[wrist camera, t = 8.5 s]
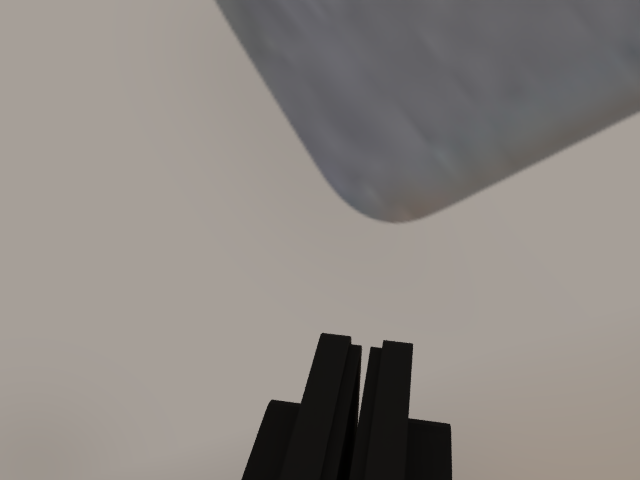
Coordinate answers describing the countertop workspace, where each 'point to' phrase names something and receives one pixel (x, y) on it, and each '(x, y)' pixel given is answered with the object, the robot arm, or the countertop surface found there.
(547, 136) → the countertop surface
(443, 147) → the countertop surface
